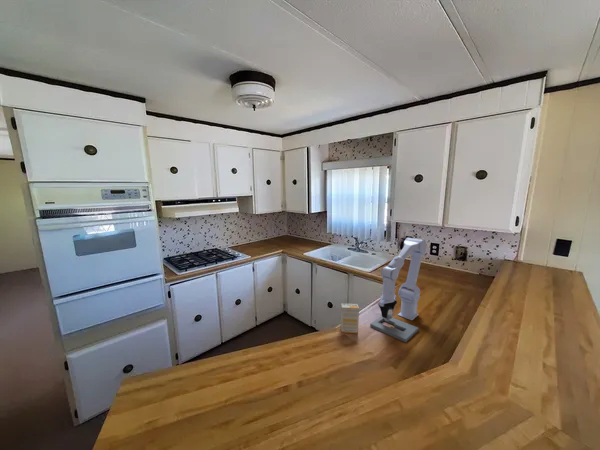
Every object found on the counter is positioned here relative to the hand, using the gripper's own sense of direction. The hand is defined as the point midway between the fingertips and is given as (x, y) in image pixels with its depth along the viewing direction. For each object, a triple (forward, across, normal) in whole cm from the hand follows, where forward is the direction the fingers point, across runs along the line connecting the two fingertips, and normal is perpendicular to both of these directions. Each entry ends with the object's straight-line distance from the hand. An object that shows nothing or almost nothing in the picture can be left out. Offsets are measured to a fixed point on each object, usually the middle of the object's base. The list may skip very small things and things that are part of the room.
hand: (387, 315), depth 120 cm
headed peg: (+2, 0, 0) cm, 2 cm away
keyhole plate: (+5, 0, +4) cm, 7 cm away
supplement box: (+6, +19, -10) cm, 22 cm away
